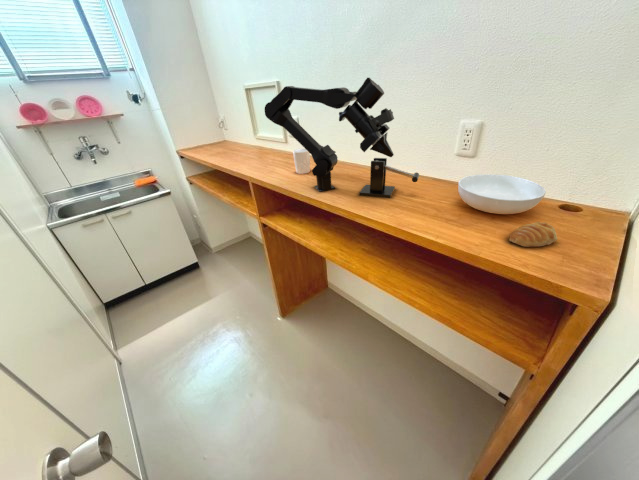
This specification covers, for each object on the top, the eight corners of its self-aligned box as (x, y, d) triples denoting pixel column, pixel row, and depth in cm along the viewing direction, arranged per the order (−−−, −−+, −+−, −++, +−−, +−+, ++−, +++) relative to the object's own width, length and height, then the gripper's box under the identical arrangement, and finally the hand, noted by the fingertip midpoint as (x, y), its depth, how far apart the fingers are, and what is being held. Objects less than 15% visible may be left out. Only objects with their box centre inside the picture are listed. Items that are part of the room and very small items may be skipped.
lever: (417, 179, 87) (420, 172, 85) (416, 183, 83) (419, 177, 81) (375, 165, 90) (377, 158, 89) (372, 169, 86) (374, 162, 85)
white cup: (297, 169, 126) (294, 149, 121) (312, 169, 125) (310, 148, 119) (293, 174, 119) (290, 152, 114) (309, 174, 118) (307, 152, 113)
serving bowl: (451, 216, 72) (456, 193, 69) (456, 191, 88) (460, 171, 84) (543, 228, 63) (554, 203, 60) (530, 198, 79) (538, 176, 75)
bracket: (394, 189, 94) (397, 157, 88) (390, 198, 87) (393, 163, 81) (365, 187, 98) (366, 156, 92) (359, 195, 91) (359, 162, 85)
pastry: (527, 252, 55) (533, 237, 54) (499, 238, 61) (504, 224, 59) (557, 243, 58) (564, 228, 56) (528, 230, 63) (533, 216, 61)
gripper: (371, 102, 70) (408, 144, 71) (385, 97, 84) (415, 132, 86) (345, 132, 77) (379, 170, 79) (361, 124, 91) (390, 155, 93)
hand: (392, 156), depth 84 cm, fingers closed
